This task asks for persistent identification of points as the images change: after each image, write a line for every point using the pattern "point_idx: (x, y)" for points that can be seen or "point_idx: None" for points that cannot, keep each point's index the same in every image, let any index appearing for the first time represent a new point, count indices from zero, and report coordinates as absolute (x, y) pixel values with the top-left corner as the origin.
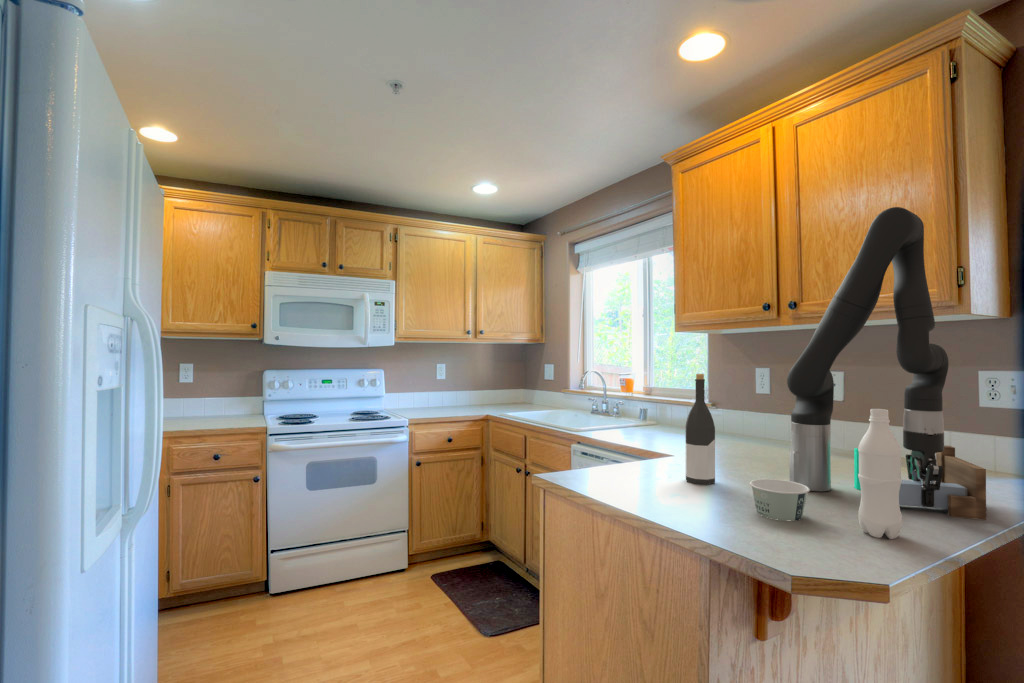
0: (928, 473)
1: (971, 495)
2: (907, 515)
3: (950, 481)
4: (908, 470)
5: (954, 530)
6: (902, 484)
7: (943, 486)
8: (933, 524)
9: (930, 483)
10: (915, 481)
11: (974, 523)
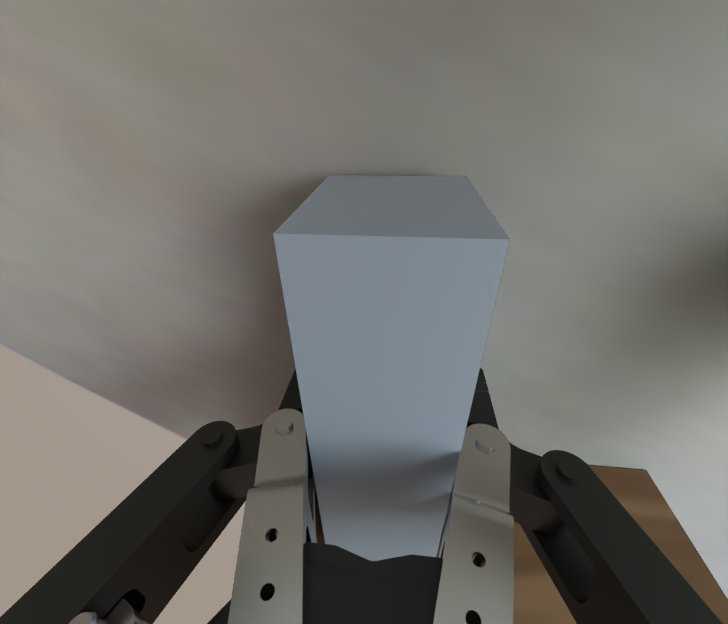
0: (54, 576)
1: (322, 538)
2: (222, 214)
3: (555, 587)
4: (624, 541)
5: (81, 321)
6: (291, 324)
7: (322, 519)
8: (118, 278)
9: (388, 499)
10: (432, 451)
11: (241, 419)
